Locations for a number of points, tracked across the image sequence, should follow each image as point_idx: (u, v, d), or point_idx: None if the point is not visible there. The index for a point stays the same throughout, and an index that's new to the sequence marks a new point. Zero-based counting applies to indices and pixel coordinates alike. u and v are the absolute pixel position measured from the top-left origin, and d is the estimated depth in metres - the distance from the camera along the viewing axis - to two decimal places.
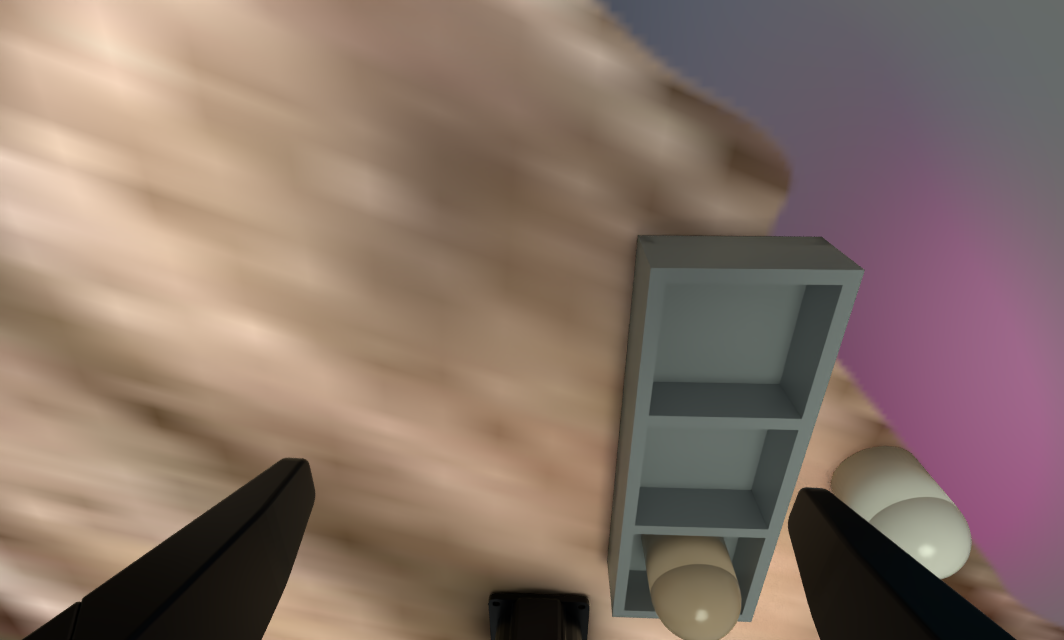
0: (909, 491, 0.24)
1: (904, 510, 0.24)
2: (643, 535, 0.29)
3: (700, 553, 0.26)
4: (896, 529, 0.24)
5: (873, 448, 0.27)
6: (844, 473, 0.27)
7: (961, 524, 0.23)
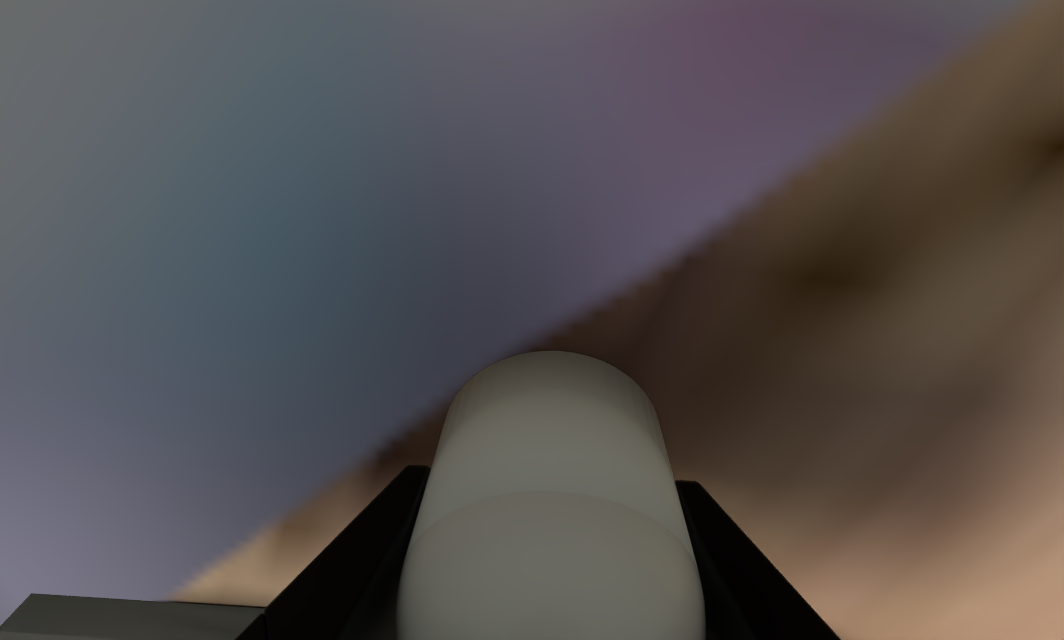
0: None
1: None
2: None
3: None
4: None
5: None
6: None
7: (418, 617, 0.06)
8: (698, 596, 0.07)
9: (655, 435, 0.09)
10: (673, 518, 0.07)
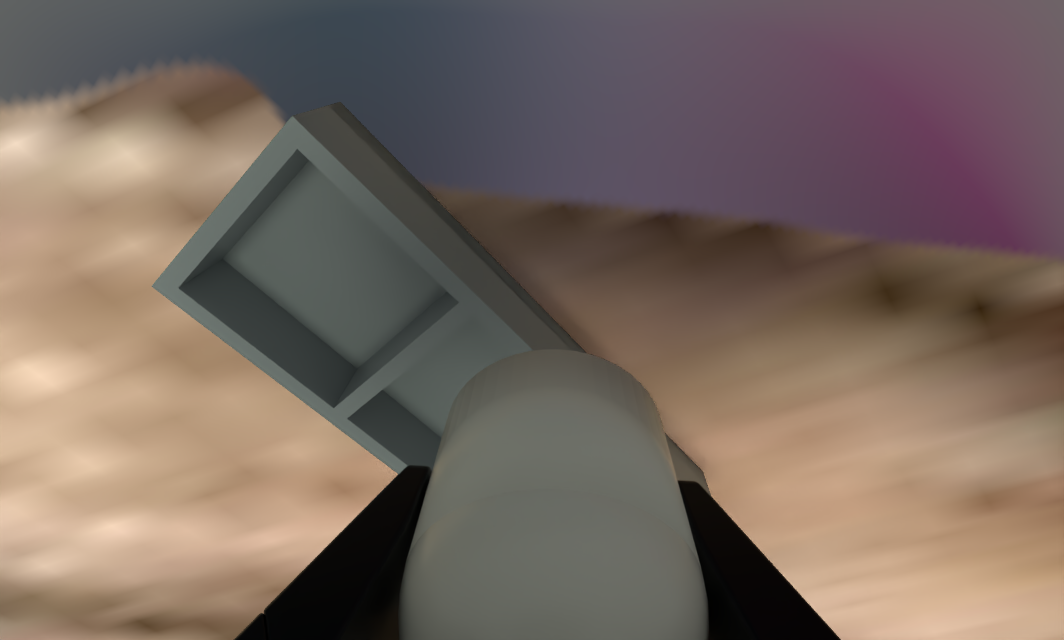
0: None
1: None
2: None
3: None
4: None
5: None
6: None
7: (421, 615, 0.06)
8: (702, 595, 0.07)
9: (658, 434, 0.09)
10: (676, 517, 0.07)
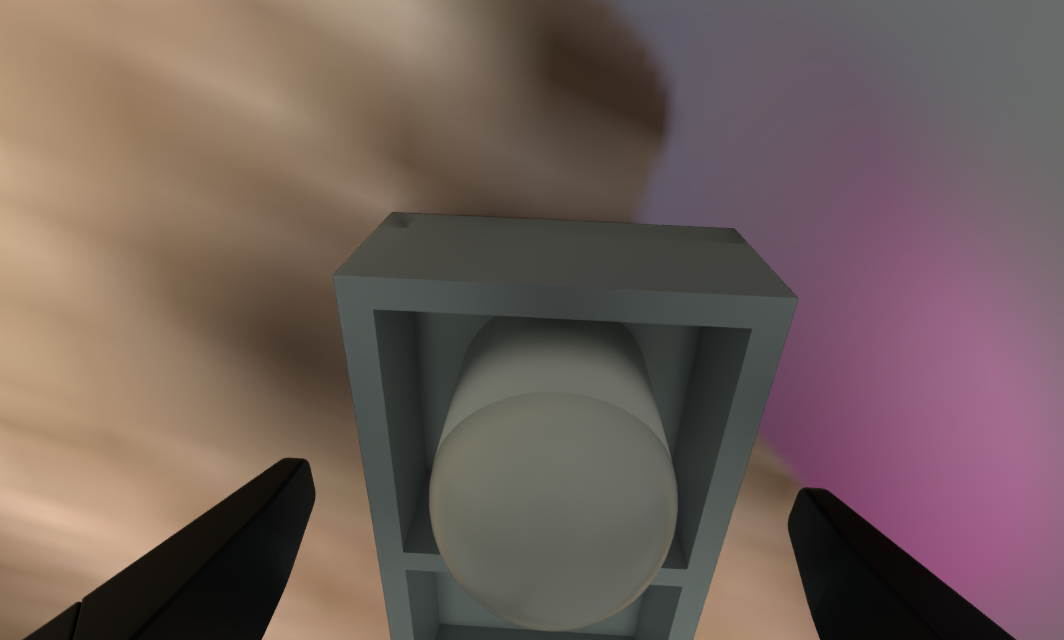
0: None
1: None
2: None
3: None
4: None
5: None
6: None
7: (450, 487, 0.08)
8: (671, 476, 0.09)
9: (640, 366, 0.11)
10: (652, 421, 0.09)
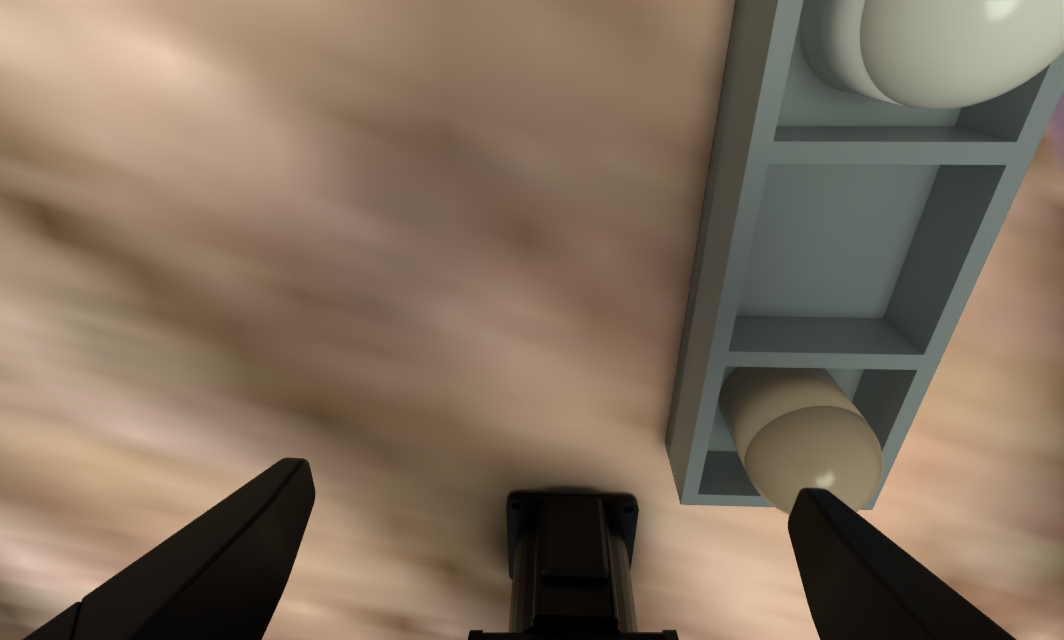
0: (851, 33, 0.12)
1: (876, 64, 0.12)
2: (724, 392, 0.21)
3: (820, 394, 0.18)
4: (912, 86, 0.12)
5: (804, 32, 0.15)
6: (842, 89, 0.15)
7: None
8: None
9: None
10: None
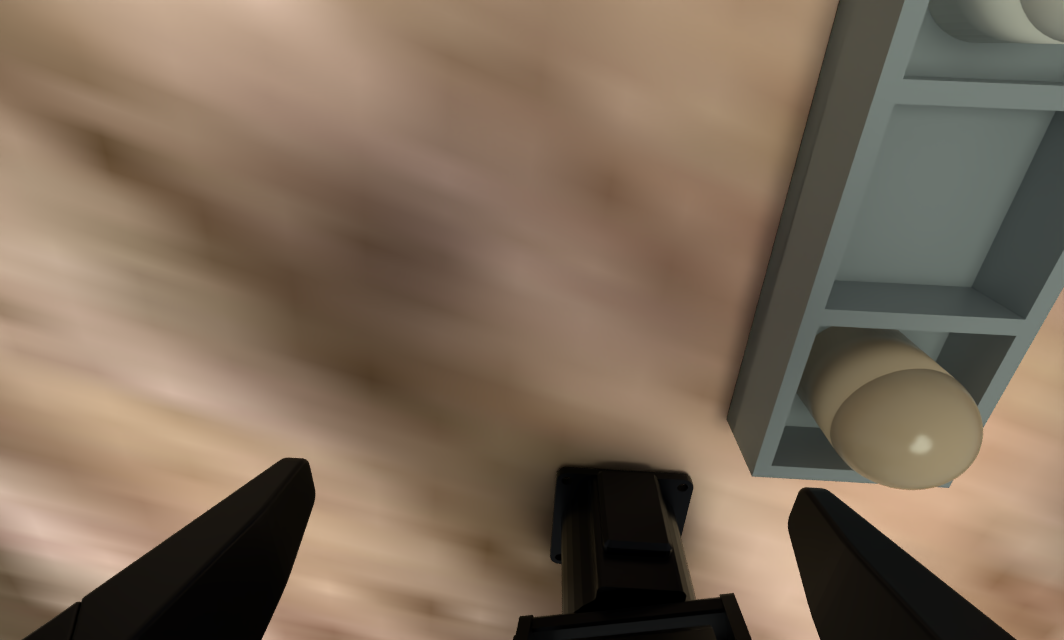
0: None
1: None
2: None
3: (915, 358, 0.17)
4: None
5: None
6: (964, 35, 0.15)
7: None
8: None
9: None
10: None
